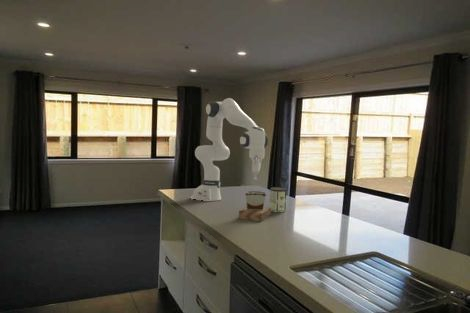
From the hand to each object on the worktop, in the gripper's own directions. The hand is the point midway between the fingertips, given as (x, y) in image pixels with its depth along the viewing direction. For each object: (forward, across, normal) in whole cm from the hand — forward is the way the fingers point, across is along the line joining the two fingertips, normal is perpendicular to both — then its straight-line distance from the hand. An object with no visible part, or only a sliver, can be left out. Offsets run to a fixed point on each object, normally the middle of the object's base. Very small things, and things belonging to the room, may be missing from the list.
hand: (256, 178), depth 201 cm
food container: (+18, +1, 0) cm, 18 cm away
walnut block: (+23, -1, 0) cm, 23 cm away
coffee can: (+23, +20, -13) cm, 33 cm away
